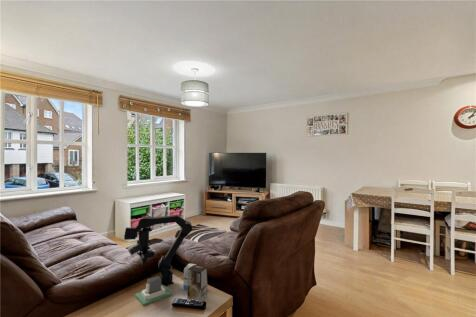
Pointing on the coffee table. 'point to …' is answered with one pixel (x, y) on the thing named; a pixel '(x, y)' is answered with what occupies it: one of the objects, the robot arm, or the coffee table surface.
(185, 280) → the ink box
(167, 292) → the dock
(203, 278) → the coffee box
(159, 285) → the plug
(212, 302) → the coffee table surface
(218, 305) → the coffee table surface
